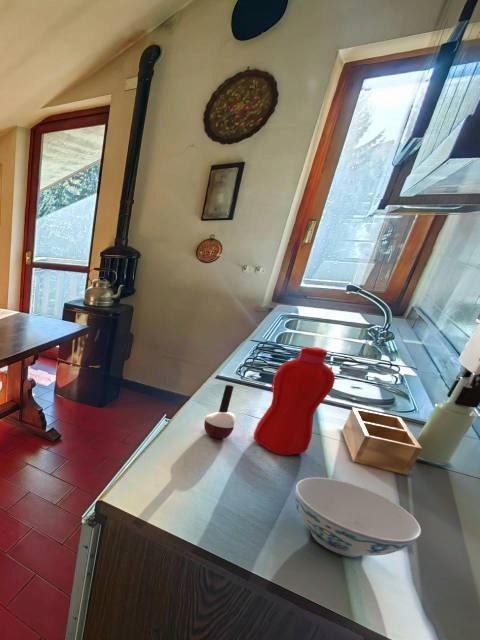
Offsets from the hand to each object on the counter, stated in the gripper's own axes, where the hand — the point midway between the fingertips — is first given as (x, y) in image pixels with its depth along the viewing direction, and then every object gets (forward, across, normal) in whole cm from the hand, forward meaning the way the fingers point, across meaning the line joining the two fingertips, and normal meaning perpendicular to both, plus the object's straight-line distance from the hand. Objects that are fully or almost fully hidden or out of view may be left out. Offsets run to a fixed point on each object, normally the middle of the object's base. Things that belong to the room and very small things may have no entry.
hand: (461, 401), depth 83 cm
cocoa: (+15, -16, +41) cm, 47 cm away
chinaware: (+15, -45, +21) cm, 52 cm away
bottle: (+14, 0, 0) cm, 14 cm away
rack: (+15, -3, +10) cm, 18 cm away
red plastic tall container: (+15, -13, +29) cm, 35 cm away
